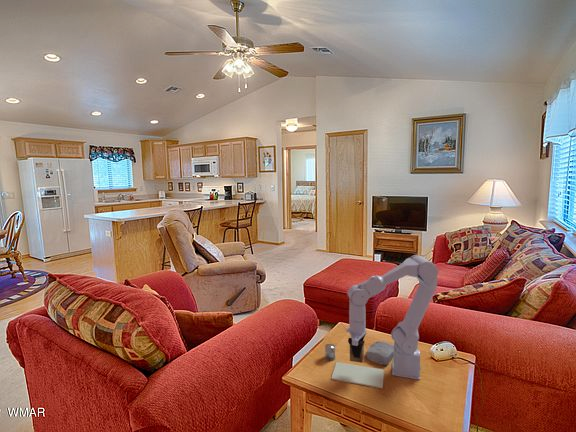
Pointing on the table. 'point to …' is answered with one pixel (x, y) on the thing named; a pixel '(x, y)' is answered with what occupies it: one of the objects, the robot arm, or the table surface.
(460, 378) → the table surface
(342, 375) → the sage mat
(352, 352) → the walnut block
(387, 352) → the stone block
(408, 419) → the table surface
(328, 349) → the steel cylinder
